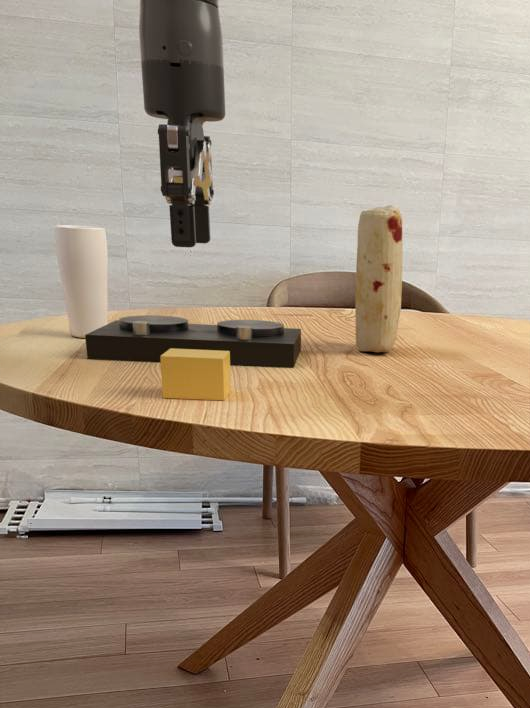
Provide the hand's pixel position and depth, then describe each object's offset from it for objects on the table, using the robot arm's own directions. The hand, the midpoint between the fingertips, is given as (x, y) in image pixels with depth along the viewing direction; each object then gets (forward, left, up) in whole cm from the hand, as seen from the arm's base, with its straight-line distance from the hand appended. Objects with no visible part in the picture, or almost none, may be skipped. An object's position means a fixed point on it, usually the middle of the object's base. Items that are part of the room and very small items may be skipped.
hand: (192, 244), depth 83 cm
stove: (-4, +25, -15) cm, 29 cm away
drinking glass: (-22, +36, -15) cm, 45 cm away
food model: (+20, +34, -15) cm, 42 cm away
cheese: (0, 0, -15) cm, 15 cm away
